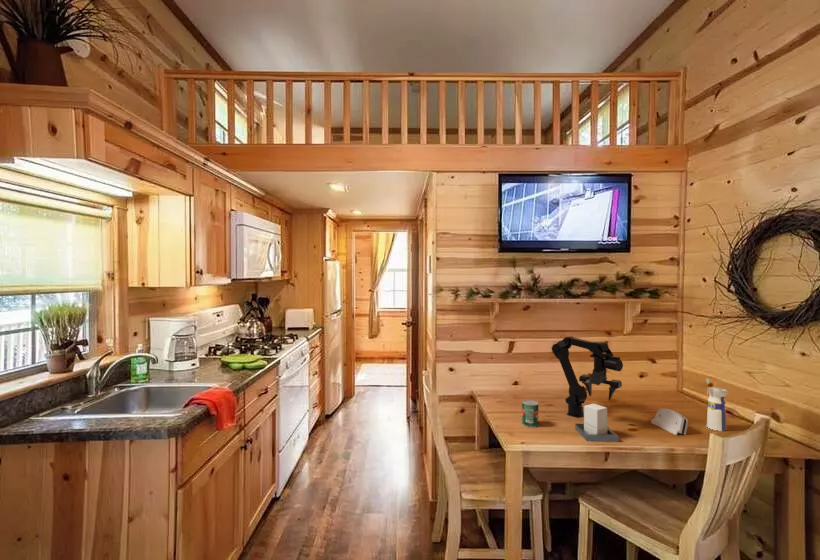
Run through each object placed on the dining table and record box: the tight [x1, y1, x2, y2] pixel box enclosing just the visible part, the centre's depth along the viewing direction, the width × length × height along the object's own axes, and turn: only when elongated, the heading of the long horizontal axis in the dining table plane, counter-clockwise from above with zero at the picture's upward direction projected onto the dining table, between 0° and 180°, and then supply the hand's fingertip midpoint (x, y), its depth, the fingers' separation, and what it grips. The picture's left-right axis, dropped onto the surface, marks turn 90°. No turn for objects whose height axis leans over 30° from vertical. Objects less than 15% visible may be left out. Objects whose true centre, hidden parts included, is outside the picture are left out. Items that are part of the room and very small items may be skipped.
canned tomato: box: [521, 399, 540, 428], centre depth 193 cm, size 8×8×11 cm
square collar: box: [574, 423, 620, 443], centre depth 180 cm, size 14×14×3 cm
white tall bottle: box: [705, 377, 730, 432], centre depth 189 cm, size 8×9×25 cm
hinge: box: [650, 407, 689, 436], centre depth 189 cm, size 17×5×10 cm, turn 7°
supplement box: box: [583, 403, 608, 435], centre depth 180 cm, size 7×7×13 cm
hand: (599, 398), depth 194 cm, fingers open, 9 cm apart
